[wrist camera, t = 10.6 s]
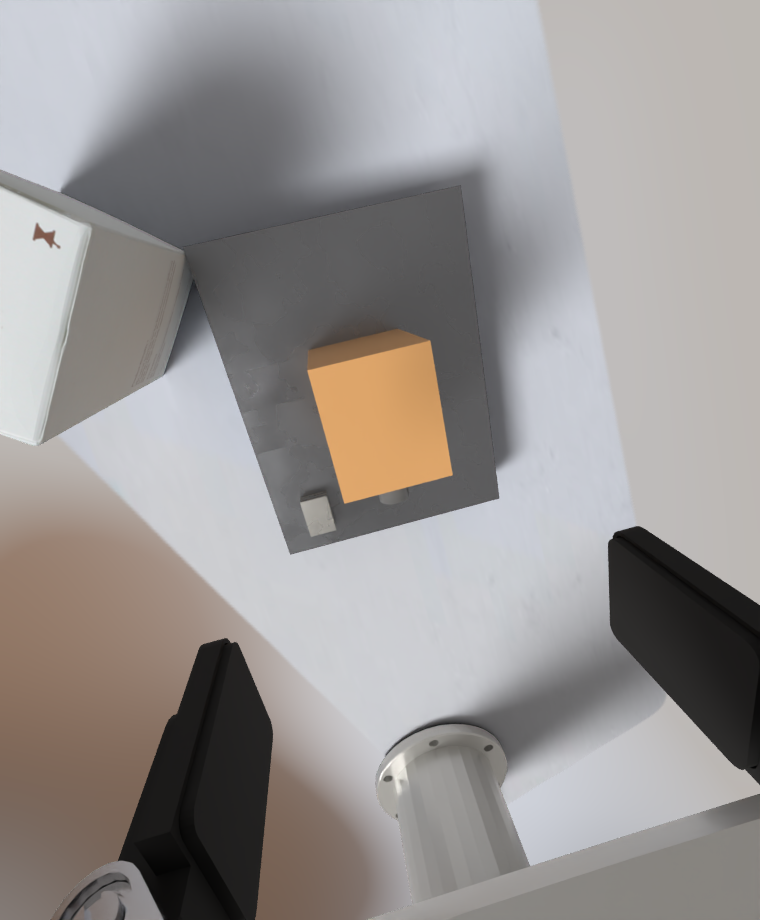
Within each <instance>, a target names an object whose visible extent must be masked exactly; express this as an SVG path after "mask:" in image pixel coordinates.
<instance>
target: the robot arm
mask: <svg viewBox="0 0 760 920" xmlns="http://www.w3.org/2000/svg"><path fill="white" fill-rule="evenodd" d="M608 562H609V600H610V626H611V629H612V631H613V634H614V635H615V637H616V638H617V639H618V641H619V642H620V643H621V644H622V645H623V646H624V647H625V648H626V649H627V650H628V651H629V653H630V654H631V655H632V656H633V657H634V658H635V659H636V660H637V661H638V662H639V663H640V664H641V666H642V667H643V668H644V669H645V670H646V671H647V672H648V673H649V674H650V675H651V676H652V677H653V679H654V680H655V681H656V682H657V683H658V684H659V685H660V686H661V687H662V688H663V689H664V691H665V692H666V693H667V694H668V695H669V696H670V697H671V698H672V699H673V700H674V701H675V702H676V704H677V705H679V707H680V708H681V709H682V710H683V711H684V712H685V713H686V714H687V715H688V717H689V718H690V719H691V720H692V721H693V722H694V723H695V724H696V725H697V726H698V727H699V729H700V730H701V731H702V732H703V733H704V734H705V735H706V736H707V737H708V738H709V739H710V740H711V742H712V743H713V744H714V745H715V746H716V747H717V748H718V749H719V750H720V751H721V752H722V753H723V755H724V756H725V757H726V758H727V759H728V760H729V761H730V762H731V763H732V764H733V765H734V766H736V767H737V768H739V769H741V770H744V769H745V770H746V771H747V772H748V773H749V774H750V775H751V776H752V777H753V778H754V779H755V780H756V781H757V782H758V783H759V785H760V605H758V604H757V603H756V602H754V601H753V600H751V599H750V598H748V597H746V596H745V595H743V594H742V593H741V592H739V591H738V590H736V589H735V588H733V587H731V586H730V585H729V584H727V583H725V582H724V581H722V580H721V579H719V578H718V577H716V576H715V575H713V574H712V573H710V572H709V571H707V570H706V569H704V568H703V567H701V566H700V565H698V564H697V563H695V562H694V561H692V560H691V559H689V558H688V557H686V556H685V555H683V554H682V553H680V552H679V551H677V550H676V549H674V548H673V547H671V546H670V545H668V544H667V543H665V542H664V541H662V540H661V539H659V538H658V537H656V536H655V535H653V534H652V533H650V532H648V531H647V530H646V529H644V528H642V527H640V526H636V527H632V528H629V529H625V530H621V531H618V532H615V533H614V535H613V539H611V540H609V542H608ZM272 742H273V730H272V724H271V721H270V718H269V716H268V714H267V711H266V709H265V706H264V704H263V702H262V699H261V697H260V695H259V692H258V690H257V687H256V685H255V683H254V680H253V678H252V676H251V673H250V671H249V669H248V666H247V664H246V662H245V659H244V656H243V654H242V652H241V650H240V647H239V645H238V643H236V642H234V643H230V641H229V640H228V639H227V638H224V639H221V640H217V641H213V642H210V643H206V644H203V645H201V646H200V648H199V650H198V654H197V656H196V659H195V663H194V665H193V668H192V671H191V674H190V677H189V680H188V683H187V686H186V689H185V692H184V695H183V698H182V701H181V704H180V707H179V710H178V713H177V714H176V715H173V716H172V717H171V718H170V719H169V720H168V723H167V725H166V727H165V730H164V733H163V735H162V738H161V741H160V744H159V747H158V749H157V753H156V755H155V758H154V761H153V764H152V766H151V769H150V772H149V775H148V778H147V780H146V783H145V786H144V789H143V792H142V794H141V798H140V800H139V803H138V806H137V808H136V811H135V814H134V817H133V820H132V823H131V826H130V828H129V831H128V834H127V837H126V839H125V842H124V845H123V848H122V851H121V854H120V857H119V859H118V861H117V862H112V863H108V864H106V865H105V866H103V867H101V868H99V869H97V870H95V871H93V872H92V873H91V874H90V875H88V876H87V877H86V878H85V879H83V880H82V881H81V882H80V883H78V884H77V886H76V887H75V888H74V889H73V890H72V891H71V892H70V893H69V894H68V895H67V896H66V898H65V899H64V900H63V901H62V903H61V904H60V906H59V907H58V908H57V910H56V911H55V913H54V914H53V916H52V917H51V919H50V920H255V917H256V909H257V900H258V889H259V878H260V868H261V858H262V847H263V837H264V826H265V815H266V805H267V794H268V783H269V773H270V763H271V751H272ZM506 772H507V760H506V757H505V753H504V751H503V749H502V747H501V745H500V743H499V741H498V740H497V739H496V738H495V737H494V736H493V735H492V734H491V733H489V732H488V731H486V730H484V729H481V728H479V727H476V726H472V725H466V724H446V725H439V726H435V727H431V728H427V729H425V730H422V731H420V732H417V733H415V734H413V735H411V736H410V737H408V738H406V739H404V740H403V741H401V742H400V743H399V744H398V745H396V746H395V747H394V748H393V749H392V750H391V751H390V752H389V753H388V754H387V755H386V757H385V758H384V760H383V761H382V763H381V764H380V766H379V769H378V772H377V774H376V782H375V785H376V792H377V799H378V801H379V804H380V806H381V807H382V809H383V810H384V811H385V812H386V813H387V814H388V815H389V816H391V817H392V818H394V819H396V820H398V822H399V828H400V833H401V840H402V846H403V851H404V857H405V863H406V869H407V875H408V881H409V887H410V893H411V899H412V905H410V906H407V907H404V908H401V909H398V910H395V911H392V912H389V913H385V914H382V915H380V916H377V917H373V918H370V919H367V920H760V794H758V795H754V796H751V797H748V798H745V799H742V800H738V801H735V802H732V803H729V804H725V805H722V806H719V807H716V808H713V809H709V810H706V811H703V812H700V813H697V814H693V815H691V816H687V817H684V818H681V819H678V820H675V821H671V822H668V823H665V824H662V825H659V826H655V827H652V828H649V829H646V830H643V831H639V832H636V833H633V834H630V835H627V836H624V837H620V838H617V839H614V840H611V841H608V842H605V843H602V844H599V845H596V846H592V847H589V848H586V849H583V850H580V851H577V852H574V853H570V854H567V855H564V856H561V857H558V858H555V859H552V860H549V861H545V862H542V863H539V864H536V865H533V866H530V865H529V862H528V860H527V857H526V854H525V852H524V849H523V847H522V844H521V842H520V839H519V836H518V834H517V831H516V828H515V826H514V823H513V821H512V818H511V815H510V813H509V810H508V808H507V805H506V802H505V800H504V797H503V795H502V792H501V789H500V787H501V785H502V783H503V781H504V779H505V776H506Z"/></svg>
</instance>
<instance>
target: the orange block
mask: <svg viewBox="0 0 760 920" xmlns="http://www.w3.org/2000/svg"><path fill="white" fill-rule="evenodd" d="M307 371H308V375H309V378H310V382H311V386H312V389H313V393H314V396H315V400H316V404H317V407H318V411H319V414H320V418H321V422H322V425H323V429H324V432H325V436H326V440H327V443H328V447H329V450H330V454H331V457H332V461H333V465H334V468H335V472H336V475H337V479H338V483H339V486H340V490H341V493H342V497H343V501H344V504H346V503H349V502H353V501H357V500H361V499H365V498H368V497H372V496H376V495H379V499H380V502H381V503H383V504H387V505H392V504H397V503H400V502H403V501H405V500H406V499H407V498H408V497H409V490H408V487H410V486H414V485H418V484H421V483H425V482H429V481H433V480H437V479H440V478H444V477H448V476H452V475H453V474H452V468H451V462H450V456H449V450H448V444H447V438H446V432H445V426H444V420H443V414H442V408H441V401H440V395H439V389H438V383H437V377H436V371H435V365H434V359H433V353H432V347H431V341H430V340H427V339H425V338H422V337H419V336H416V335H414V334H411V333H408V332H405V331H403V330H400V329H394V330H390V331H386V332H382V333H377V334H373V335H369V336H365V337H361V338H357V339H352V340H348V341H344V342H340V343H336V344H332V345H327V346H323V347H319V348H315V349H311V350H308V366H307Z"/></svg>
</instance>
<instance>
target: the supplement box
mask: <svg viewBox="0 0 760 920" xmlns="http://www.w3.org/2000/svg"><path fill="white" fill-rule="evenodd" d="M193 279H194V278H193V275H192V272H191V269H190V267H189V264H188V261H187V258H186V255H185V252H184V251H183V250H181V249H179V248H177V247H175V246H173V245H171V244H169V243H167V242H165V241H163V240H161V239H159V238H157V237H155V236H153V235H151V234H149V233H147V232H144V231H142V230H140V229H138V228H136V227H134V226H132V225H130V224H128V223H126V222H124V221H122V220H119V219H117V218H115V217H113V216H111V215H109V214H107V213H104V212H102V211H100V210H98V209H96V208H94V207H91V206H89V205H87V204H85V203H82V202H80V201H78V200H75V199H73V198H71V197H69V196H66V195H64V194H62V193H60V192H57V191H54V190H52V189H49V188H46V187H44V186H41V185H39V184H36V183H33V182H31V181H28V180H25V179H23V178H20V177H18V176H15V175H13V174H10V173H8V172H5V171H3V170H0V435H4V436H7V437H9V438H12V439H15V440H18V441H21V442H24V443H26V444H29V445H32V446H39V445H41V444H42V443H44V442H46V441H48V440H49V439H51V438H53V437H55V436H57V435H58V434H60V433H62V432H64V431H66V430H67V429H69V428H71V427H73V426H74V425H76V424H78V423H80V422H82V421H83V420H85V419H87V418H89V417H91V416H92V415H94V414H96V413H98V412H99V411H101V410H103V409H105V408H107V407H108V406H110V405H112V404H114V403H116V402H117V401H119V400H121V399H123V398H124V397H126V396H128V395H130V394H132V393H133V392H135V391H137V390H139V389H141V388H142V387H144V386H146V385H148V384H150V383H152V382H153V381H155V380H157V379H159V378H160V377H162V376H163V375H164V372H165V369H166V366H167V363H168V360H169V357H170V354H171V351H172V347H173V344H174V341H175V338H176V335H177V331H178V328H179V325H180V322H181V318H182V315H183V312H184V309H185V305H186V302H187V299H188V295H189V292H190V289H191V286H192V282H193Z"/></svg>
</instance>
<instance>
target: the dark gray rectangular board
mask: <svg viewBox="0 0 760 920" xmlns="http://www.w3.org/2000/svg"><path fill="white" fill-rule="evenodd" d="M183 249H184V252H185V255H186V258H187V261H188V264H189V267H190V269H191V272H192V275H193V278H194V281H195V284H196V287H197V289H198V292H199V295H200V298H201V301H202V304H203V307H204V309H205V312H206V315H207V318H208V321H209V324H210V327H211V329H212V332H213V335H214V338H215V341H216V344H217V347H218V349H219V352H220V355H221V358H222V361H223V364H224V366H225V369H226V372H227V375H228V378H229V381H230V384H231V386H232V389H233V392H234V395H235V398H236V401H237V404H238V406H239V409H240V412H241V415H242V418H243V421H244V424H245V426H246V429H247V432H248V435H249V438H250V441H251V444H252V446H253V449H254V452H255V455H256V458H257V461H258V464H259V466H260V469H261V472H262V475H263V478H264V481H265V484H266V486H267V489H268V492H269V495H270V498H271V501H272V504H273V506H274V509H275V512H276V515H277V518H278V521H279V524H280V526H281V529H282V532H283V535H284V538H285V541H286V544H287V546H288V549H289V552H290V555H291V554H294V553H298V552H302V551H306V550H309V549H313V548H317V547H320V546H324V545H328V544H332V543H335V542H339V541H343V540H346V539H350V538H354V537H358V536H361V535H365V534H369V533H372V532H376V531H380V530H384V529H387V528H391V527H395V526H398V525H402V524H406V523H410V522H413V521H417V520H421V519H424V518H428V517H432V516H436V515H439V514H443V513H447V512H450V511H454V510H458V509H462V508H465V507H469V506H473V505H476V504H480V503H484V502H488V501H491V500H495V499H499V492H498V484H497V476H496V468H495V460H494V452H493V444H492V435H491V427H490V419H489V411H488V403H487V395H486V387H485V379H484V371H483V362H482V354H481V346H480V338H479V330H478V322H477V314H476V306H475V298H474V289H473V281H472V273H471V265H470V257H469V249H468V241H467V233H466V225H465V216H464V208H463V200H462V192H461V185H460V186H456V187H451V188H447V189H442V190H438V191H433V192H429V193H424V194H420V195H415V196H411V197H406V198H402V199H397V200H393V201H388V202H384V203H379V204H375V205H370V206H365V207H361V208H356V209H352V210H347V211H343V212H338V213H334V214H329V215H325V216H320V217H316V218H311V219H307V220H302V221H298V222H293V223H289V224H284V225H280V226H275V227H271V228H266V229H262V230H257V231H253V232H248V233H244V234H239V235H235V236H230V237H226V238H221V239H216V240H212V241H207V242H203V243H198V244H194V245H189V246H185V247H183ZM394 329H400V330H403V331H405V332H408V333H411V334H414V335H416V336H419V337H422V338H425V339H427V340H430V341H431V347H432V353H433V359H434V365H435V371H436V377H437V383H438V389H439V395H440V401H441V408H442V414H443V420H444V426H445V432H446V438H447V444H448V450H449V456H450V462H451V468H452V474H453V475H452V476H448V477H444V478H440V479H437V480H433V481H429V482H425V483H421V484H418V485H414V486H410V487H408V490H409V497H408V498H407V499H406V500H405V501H403V502H400V503H397V504H392V505H387V504H383V503H381V502H380V499H379V495H376V496H372V497H368V498H365V499H361V500H357V501H353V502H349V503H346V504H344V501H343V497H342V493H341V490H340V486H339V483H338V479H337V475H336V472H335V468H334V465H333V461H332V457H331V454H330V450H329V447H328V443H327V440H326V436H325V432H324V429H323V425H322V422H321V418H320V414H319V411H318V407H317V404H316V400H315V396H314V393H313V389H312V386H311V382H310V378H309V375H308V371H307V366H308V350H311V349H315V348H319V347H323V346H327V345H332V344H336V343H340V342H344V341H348V340H352V339H357V338H361V337H365V336H369V335H373V334H377V333H382V332H386V331H390V330H394Z"/></svg>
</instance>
